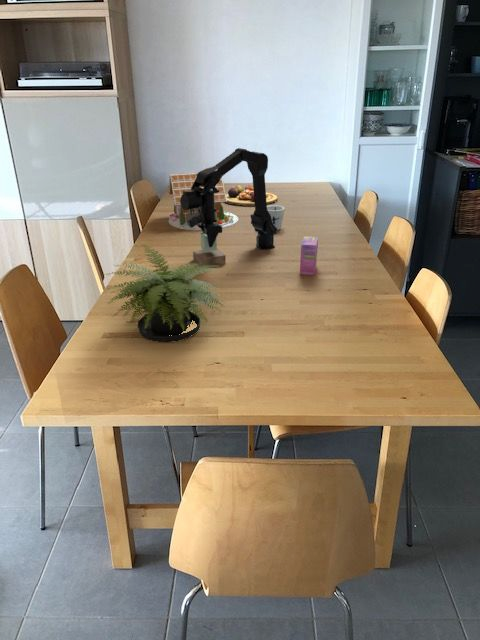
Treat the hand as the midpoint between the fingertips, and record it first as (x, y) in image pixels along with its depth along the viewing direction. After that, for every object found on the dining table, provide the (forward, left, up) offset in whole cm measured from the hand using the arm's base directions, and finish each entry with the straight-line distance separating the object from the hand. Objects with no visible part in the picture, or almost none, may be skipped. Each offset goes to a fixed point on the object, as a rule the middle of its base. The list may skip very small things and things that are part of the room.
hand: (208, 245), depth 205 cm
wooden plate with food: (-51, -92, -8) cm, 106 cm away
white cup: (-43, -36, -7) cm, 56 cm away
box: (-33, +22, -7) cm, 40 cm away
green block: (0, 0, -2) cm, 2 cm away
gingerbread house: (-14, -60, -7) cm, 62 cm away
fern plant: (+27, +52, -7) cm, 59 cm away
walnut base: (0, 0, -7) cm, 7 cm away
